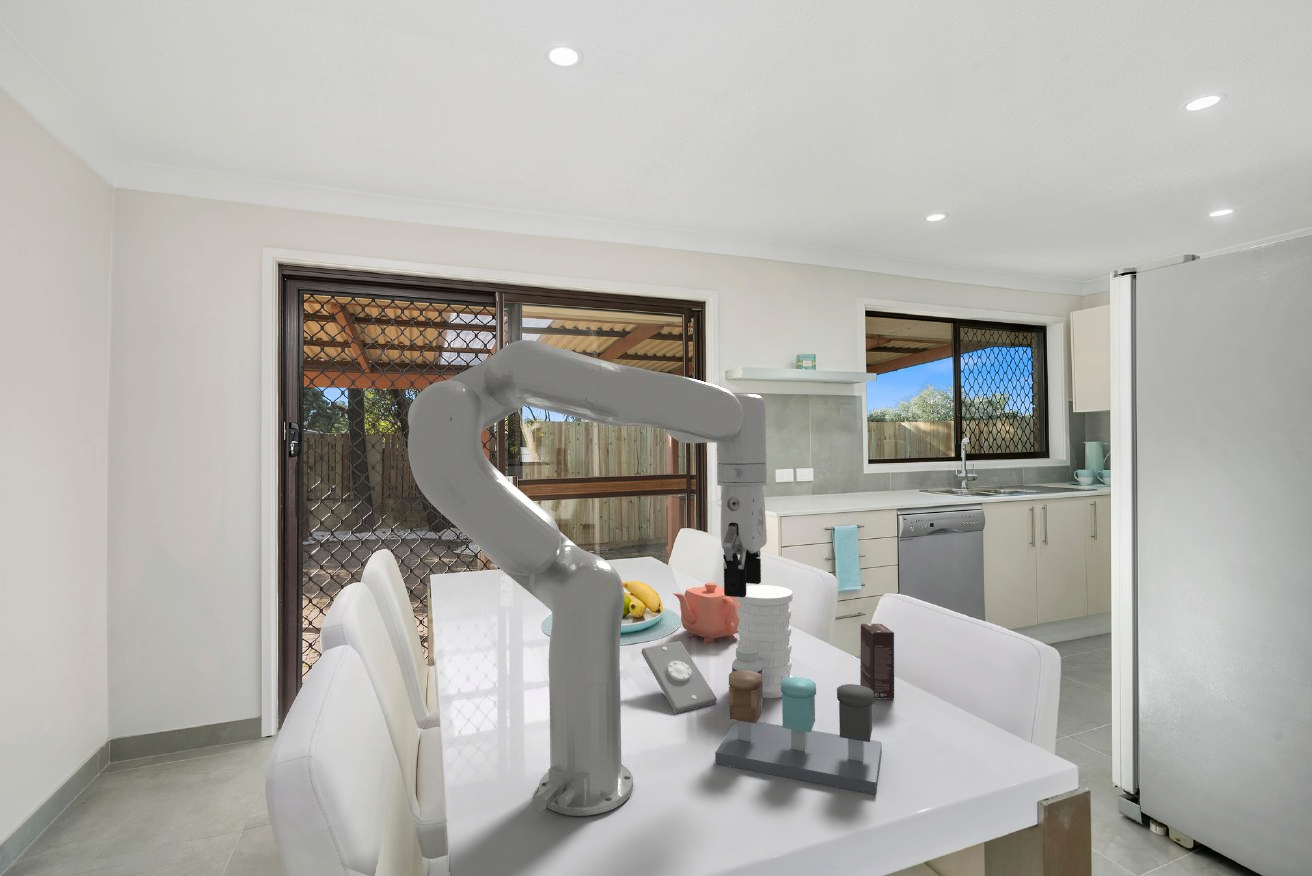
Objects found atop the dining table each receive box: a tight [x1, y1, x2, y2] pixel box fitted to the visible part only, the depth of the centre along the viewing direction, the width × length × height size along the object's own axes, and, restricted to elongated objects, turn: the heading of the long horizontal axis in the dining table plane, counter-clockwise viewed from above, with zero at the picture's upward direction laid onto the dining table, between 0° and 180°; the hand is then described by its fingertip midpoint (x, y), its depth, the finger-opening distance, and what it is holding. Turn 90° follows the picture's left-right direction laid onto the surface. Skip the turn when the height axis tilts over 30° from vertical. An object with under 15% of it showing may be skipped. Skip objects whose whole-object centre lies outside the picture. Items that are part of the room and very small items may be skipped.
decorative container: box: [735, 584, 794, 699], centre depth 119 cm, size 12×12×18 cm
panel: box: [714, 720, 883, 795], centre depth 92 cm, size 12×22×6 cm, turn 67°
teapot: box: [672, 582, 739, 645], centre depth 151 cm, size 15×17×13 cm
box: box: [859, 623, 895, 701], centre depth 115 cm, size 6×4×12 cm
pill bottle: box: [731, 646, 764, 703], centre depth 111 cm, size 5×5×10 cm
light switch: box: [640, 640, 718, 714], centre depth 116 cm, size 8×6×14 cm
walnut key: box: [728, 670, 763, 723], centre depth 95 cm, size 5×5×6 cm
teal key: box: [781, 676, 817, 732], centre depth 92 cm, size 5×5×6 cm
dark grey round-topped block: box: [836, 683, 875, 742], centre depth 89 cm, size 5×5×6 cm
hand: (743, 589), depth 95 cm, fingers open, 8 cm apart
